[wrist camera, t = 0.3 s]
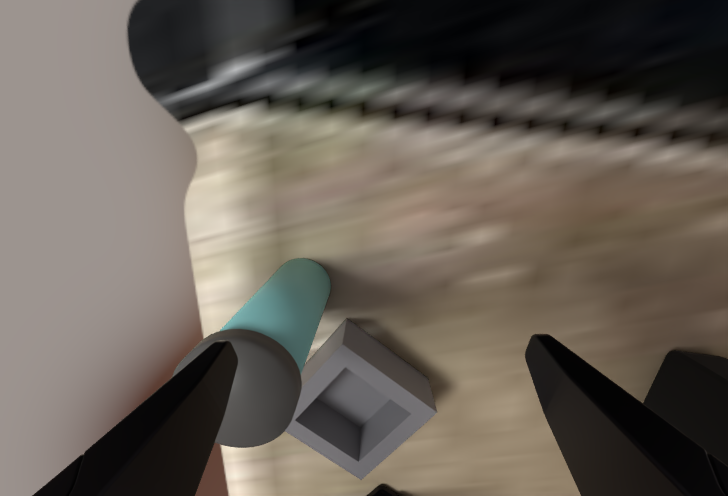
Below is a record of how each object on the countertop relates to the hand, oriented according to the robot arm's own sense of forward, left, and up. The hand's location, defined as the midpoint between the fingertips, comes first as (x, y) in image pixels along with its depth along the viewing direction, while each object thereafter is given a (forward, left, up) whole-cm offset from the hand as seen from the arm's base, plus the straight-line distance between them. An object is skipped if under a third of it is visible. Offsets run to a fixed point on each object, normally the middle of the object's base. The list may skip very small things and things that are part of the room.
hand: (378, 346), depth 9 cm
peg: (-8, +2, -16) cm, 18 cm away
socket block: (-13, -8, -16) cm, 22 cm away
